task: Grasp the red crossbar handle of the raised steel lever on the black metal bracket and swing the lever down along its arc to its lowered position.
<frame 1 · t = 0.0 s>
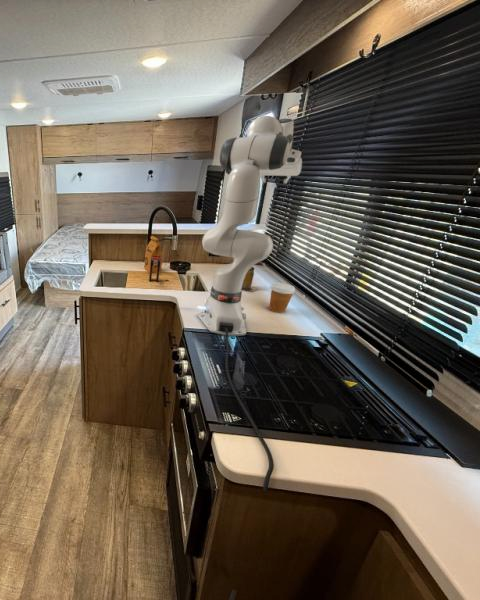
hand: (274, 182, 153), 54 cm above the table, tool tilted 30°, fingers open, 8 cm apart
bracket: (153, 282, 178), on the table
condiment: (245, 288, 169), on the table
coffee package: (152, 272, 196), on the table
lever: (156, 261, 168), point 14 cm above the table, hinge at 28.0°
disposable coffee cup: (276, 310, 144), on the table
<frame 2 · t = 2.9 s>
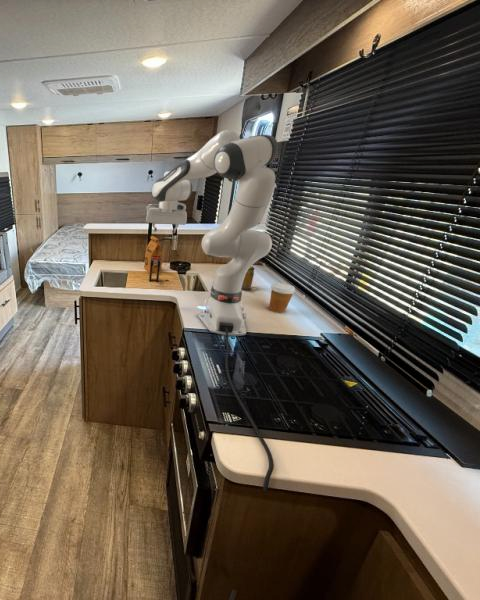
hand: (164, 232, 160), 30 cm above the table, tool pointing down, fingers open, 8 cm apart
nothing on the table moved.
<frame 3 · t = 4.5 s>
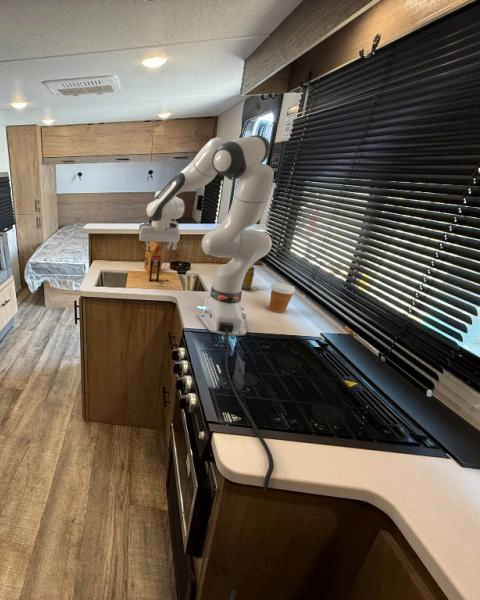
hand: (157, 249, 160), 22 cm above the table, tool pointing down, fingers open, 8 cm apart
nothing on the table moved.
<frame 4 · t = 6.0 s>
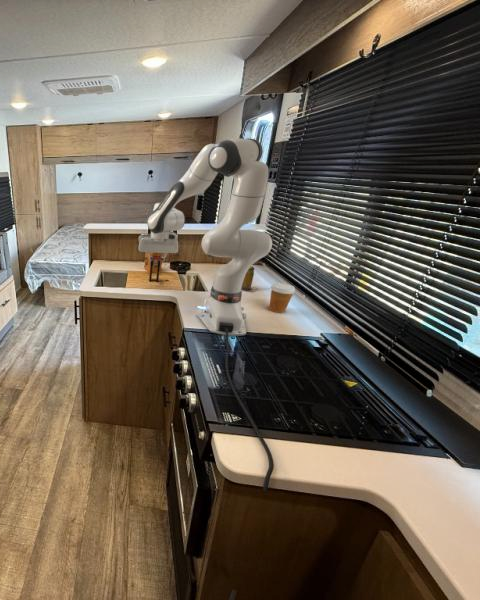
hand: (156, 260, 162), 16 cm above the table, tool pointing down, fingers closed on lever, 5 cm apart
lever: (156, 261, 168), point 14 cm above the table, hinge at 27.9°, touching gripper
everything else where it was.
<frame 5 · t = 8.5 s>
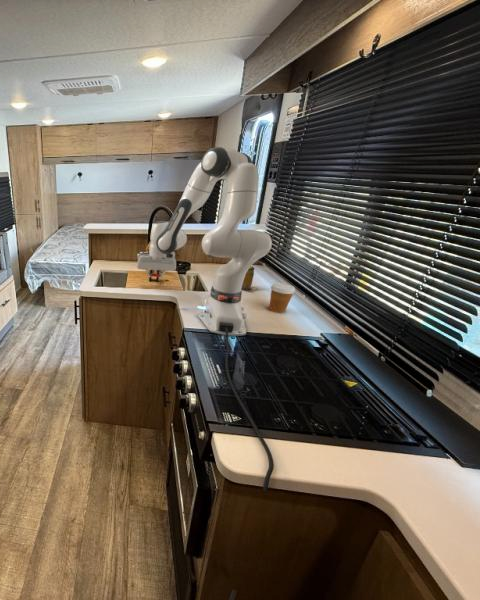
hand: (155, 277, 166), 7 cm above the table, tool pointing down, fingers closed on lever, 5 cm apart
lever: (155, 268, 169), point 10 cm above the table, hinge at -20.5°, touching gripper
everything else where it was.
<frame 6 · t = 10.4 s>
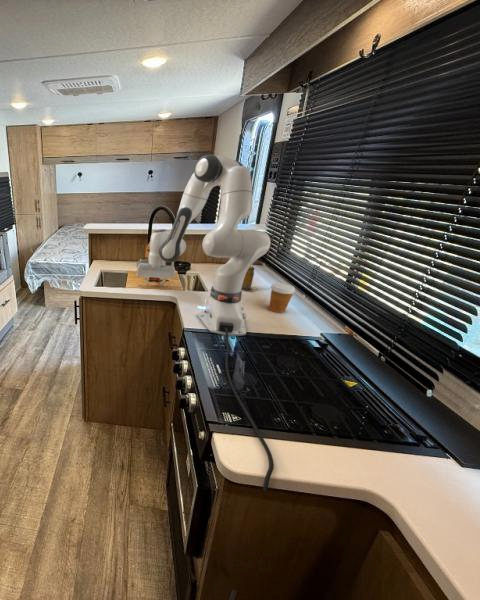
hand: (154, 284, 168), 2 cm above the table, tool pointing down, fingers open, 6 cm apart
lever: (155, 270, 170), point 9 cm above the table, hinge at -35.4°
everything else where it was.
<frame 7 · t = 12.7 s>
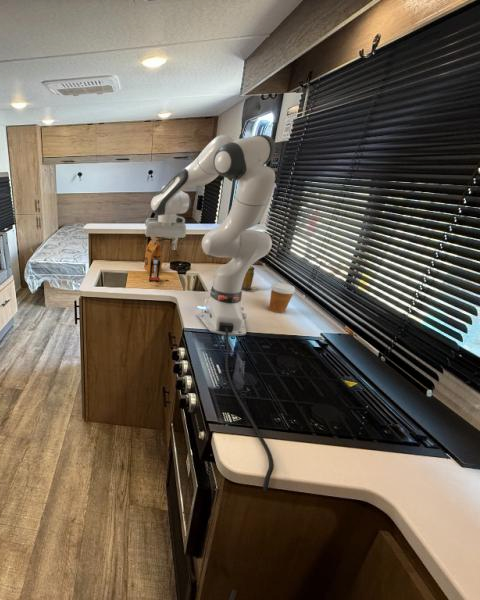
hand: (163, 245, 160), 24 cm above the table, tool pointing down, fingers open, 8 cm apart
nothing on the table moved.
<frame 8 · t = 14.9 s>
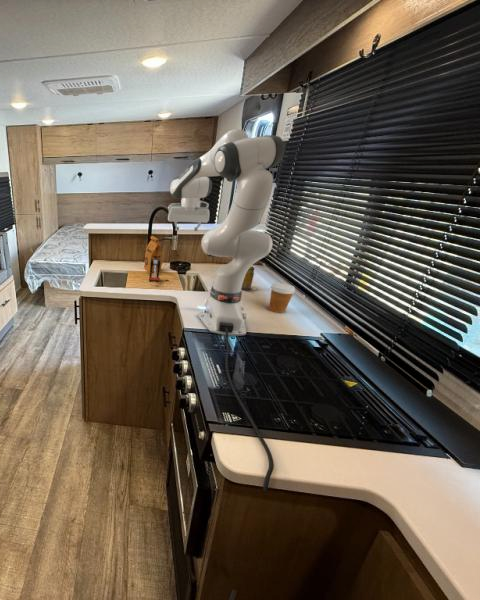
hand: (186, 230, 160), 31 cm above the table, tool pointing down, fingers open, 8 cm apart
nothing on the table moved.
at the end: lever at -35° (first picture: +28°) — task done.
